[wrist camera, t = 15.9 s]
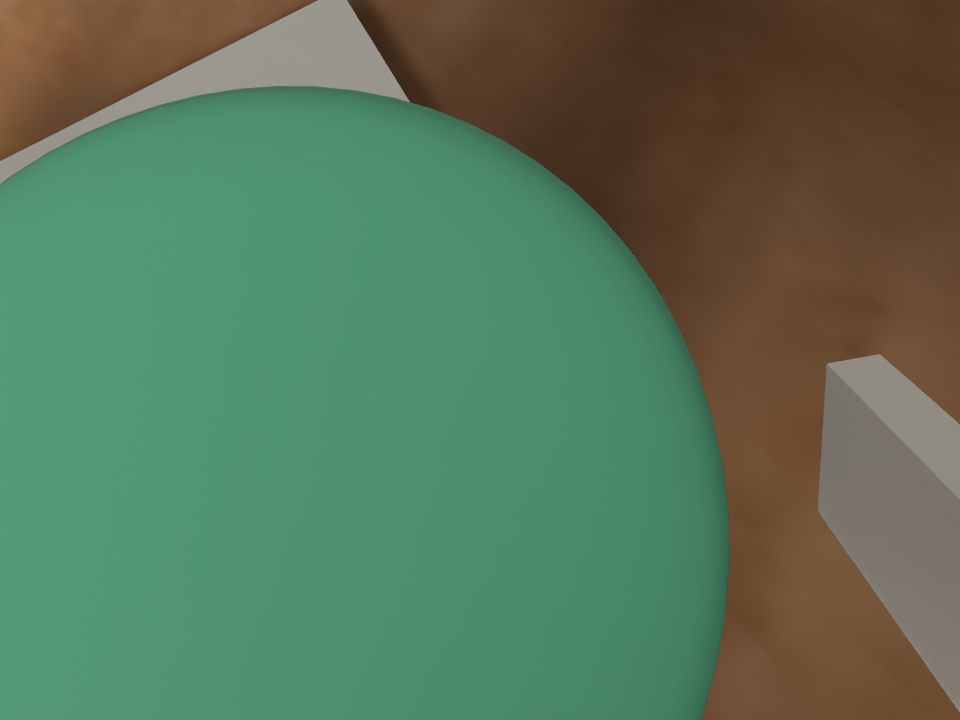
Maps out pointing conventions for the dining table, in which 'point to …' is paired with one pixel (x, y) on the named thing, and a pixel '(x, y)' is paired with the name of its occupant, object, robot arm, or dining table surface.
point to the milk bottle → (342, 430)
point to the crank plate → (255, 70)
